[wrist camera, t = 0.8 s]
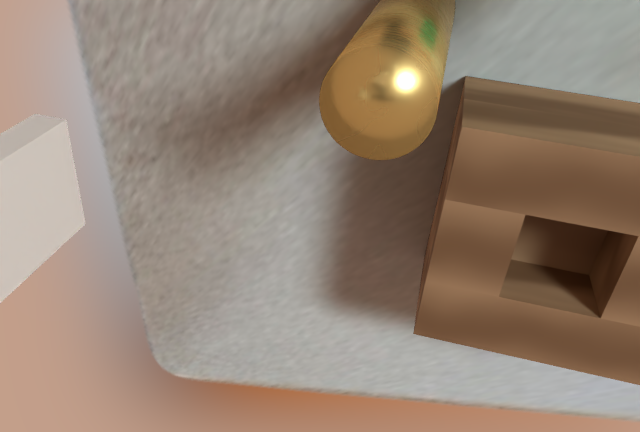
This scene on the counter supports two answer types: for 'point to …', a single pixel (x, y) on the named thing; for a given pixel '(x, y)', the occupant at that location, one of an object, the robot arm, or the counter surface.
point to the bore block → (538, 230)
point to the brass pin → (389, 79)
